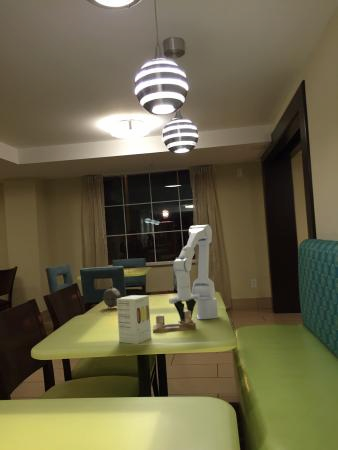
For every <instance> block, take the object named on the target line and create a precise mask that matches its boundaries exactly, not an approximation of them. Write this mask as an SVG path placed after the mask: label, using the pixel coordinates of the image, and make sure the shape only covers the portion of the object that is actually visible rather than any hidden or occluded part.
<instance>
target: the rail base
mask: <svg viewBox="0 0 338 450" xmlns="http://www.w3.org/2000/svg"><path fill="white" fill-rule="evenodd" d="M187 330H197V325H196V322H195V319H192V322H191V323H187V324H185V323H182V322H181V321H180V320H178V321H177V322H175V323H165V315H164V314H163V313H157V314H156V313H155V325H154V324H153V325H152V333H153V334H154V333H164V332H175V331H177V332H178V331H187Z"/></svg>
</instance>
